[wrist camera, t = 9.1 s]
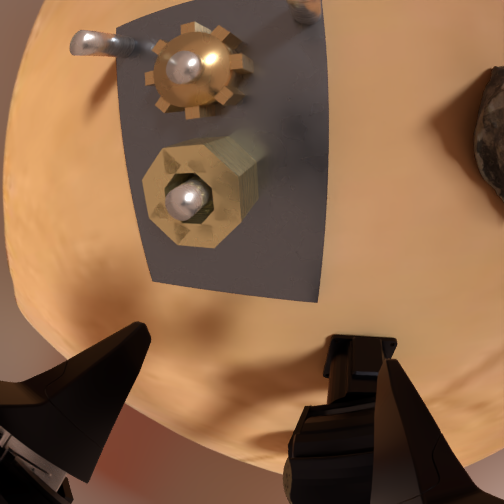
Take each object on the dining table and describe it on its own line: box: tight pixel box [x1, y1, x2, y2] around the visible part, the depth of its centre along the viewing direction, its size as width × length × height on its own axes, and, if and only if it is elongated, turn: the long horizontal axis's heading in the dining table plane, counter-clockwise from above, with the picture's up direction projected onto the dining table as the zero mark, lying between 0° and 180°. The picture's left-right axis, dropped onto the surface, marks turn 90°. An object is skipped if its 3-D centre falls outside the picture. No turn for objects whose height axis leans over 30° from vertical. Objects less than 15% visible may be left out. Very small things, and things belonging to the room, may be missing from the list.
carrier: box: [70, 0, 329, 303], centre depth 15 cm, size 23×15×6 cm, turn 3°
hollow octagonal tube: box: [142, 136, 258, 248], centre depth 16 cm, size 6×6×4 cm
